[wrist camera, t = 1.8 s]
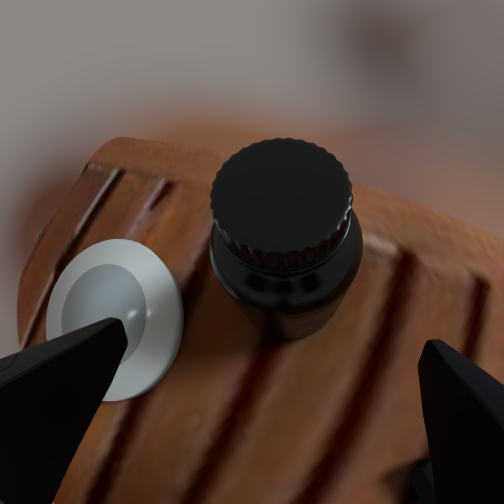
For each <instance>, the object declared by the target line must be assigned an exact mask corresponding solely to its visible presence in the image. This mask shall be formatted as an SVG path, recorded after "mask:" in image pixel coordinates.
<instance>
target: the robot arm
mask: <svg viewBox="0 0 504 504" xmlns="http://www.w3.org/2000/svg"><path fill="white" fill-rule="evenodd" d="M127 346H128V338H127V335H126V332H125V328H124V325H123V322H122V320H121V319H119V318H114V317H108V318H105V319H103V320H100V321H98V322H95V323H92V324H90V325H87V326H85V327H82V328H80V329H77V330H74V331H72V332H69V333H67V334H64V335H62V336H59V337H56V338H54V339H51V340H49V341H46V342H43V343H41V344H38V345H36V346H33V347H30V348H28V349H25V350H23V351H20V352H19V353H18V352H17V353H15V354H12V355H10V356H7V357H4V358H2V359H0V504H52V503H53V500H54V498H55V496H56V494H57V491H58V489H59V487H60V485H61V482H62V480H63V478H64V476H65V474H66V471H67V469H68V467H69V465H70V463H71V461H72V459H73V457H74V455H75V453H76V451H77V449H78V447H79V445H80V443H81V441H82V439H83V437H84V435H85V433H86V431H87V429H88V427H89V425H90V423H91V421H92V419H93V417H94V415H95V414H96V412H97V410H98V408H99V406H100V404H101V402H102V400H103V399H104V397H105V395H106V393H107V391H108V389H109V388H110V386H111V384H112V381H113V379H114V377H115V375H116V372H117V370H118V367H119V365H120V363H121V360H122V358H123V356H124V354H125V351H126V349H127ZM418 375H419V383H420V391H421V401H422V410H423V417H424V423H425V428H426V433H427V439H428V445H429V451H430V458H431V465H432V472H433V481H434V490H435V502H436V504H504V385H503V384H502V383H500V382H499V381H498V380H496V379H495V378H494V377H492V376H491V375H490V374H488V373H487V372H485V371H484V370H483V369H481V368H480V367H479V366H477V365H476V364H474V363H473V362H472V361H470V360H469V359H467V358H466V357H465V356H463V355H462V354H460V353H459V352H458V351H456V350H455V349H453V348H452V347H451V346H449V345H448V344H446V343H445V342H443V341H442V340H440V339H433V340H428V341H427V342H426V343H425V346H424V349H423V351H422V354H421V357H420V360H419V363H418Z"/></svg>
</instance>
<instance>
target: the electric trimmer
mask: <svg viewBox="0 0 504 504" xmlns="http://www.w3.org/2000/svg"><path fill="white" fill-rule="evenodd" d="M410 480H411V482H412V484H413V486H414V488H415V490H416V492H417V494H418V496H419V498H420V500H421V502H422V504H436V502H435V490H434V481H433V472H432V465H431V458H429V459H428V460H427V461H426V462H425V463H423V464H422V465H421V466H420V467H419V468H417V469H416V470H415V471H414V472H413V473H411V474H410Z"/></svg>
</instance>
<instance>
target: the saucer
mask: <svg viewBox="0 0 504 504" xmlns="http://www.w3.org/2000/svg"><path fill="white" fill-rule="evenodd" d="M108 317H114V318H119V319H121V320H122V322H123V325H124V328H125V332H126V335H127V338H128V346H127V349H126V351H125V354H124V356H123V358H122V360H121V363H120V365H119V367H118V370H117V372H116V375H115V377H114V379H113V381H112V384H111V386H110V388H109V389H108V391H107V393H106V395H105V397H104V399H103V400H102V401H124V400H130V399H133V398H136V397H138V396H140V395H142V394H144V393H146V392H148V391H149V390H150V389H152V388H153V387H154V386H155V385H156V384H157V383H158V382H159V381H160V380H161V379H162V378H163V377H164V376H165V374H166V373H167V372H168V370H169V369H170V367H171V365H172V363H173V362H174V360H175V358H176V355H177V352H178V350H179V347H180V343H181V339H182V334H183V327H184V309H183V301H182V296H181V292H180V289H179V287H178V284H177V282H176V280H175V278H174V276H173V274H172V273H171V271H170V270H169V268H168V267H167V266H166V265H165V264H164V263H163V262H162V261H161V260H160V259H159V258H158V257H157V256H156V255H155V254H154V253H153V252H152V251H151V250H149V249H148V248H147V247H145V246H143V245H141V244H139V243H137V242H134V241H131V240H125V239H112V240H106V241H103V242H100V243H97V244H95V245H93V246H91V247H89V248H87V249H86V250H84V251H83V252H81V253H80V254H79V255H78V256H76V257H75V258H74V259H73V260H72V261H71V262H70V264H69V265H68V266H67V267H66V268H65V270H64V271H63V273H62V274H61V276H60V277H59V279H58V281H57V283H56V285H55V287H54V289H53V292H52V294H51V297H50V301H49V305H48V309H47V316H46V339H47V341H49V340H51V339H54V338H56V337H59V336H62V335H64V334H67V333H69V332H72V331H74V330H77V329H80V328H82V327H85V326H87V325H90V324H92V323H95V322H98V321H100V320H103V319H105V318H108Z"/></svg>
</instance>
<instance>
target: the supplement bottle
mask: <svg viewBox="0 0 504 504" xmlns="http://www.w3.org/2000/svg"><path fill="white" fill-rule="evenodd" d="M348 178H349V177H348V173H347V172H346V171H345V170H344V169H343V165H342V163H341V162H339V161H337V160H336V158H335V156H334V155H332V154H331V153H328V152H327V151H326V150H325V149H324V148H322V147H318V146H317V145H315V144H314V143H309V142H305V141H304V140H295V139H292V138H285V139H281V138H275V139H272V140H263V141H261V142H258V143H253V144H251V145H250V146H248V147H245V148H242V149H241V150H240V151H239V152H238V153H236V154H233V155H232V156H231V157H230V159H229V160H228V161H226V162H225V163H223V166H222V168H221V169H220V170H219V171H218V172H217V175H216V179H215V180H214V181H213V183H212V187H213V189H212V191H211V193H210V198H211V200H212V201H211V204H210V208H211V211H212V213H213V220H214V223H213V226H212V230H211V234H210V244H209V249H210V258H211V263H212V266H213V269H214V272H215V274H216V276H217V278H218V280H219V281H220V283H221V285H222V286H223V288H224V289H225V290H226V292H227V293H228V294H229V296H230V297H231V298H232V299H233V301H234V302H235V303H236V304H237V306H238V307H239V308H240V309H241V310H242V312H243V313H244V314H245V315H246V317H247V318H248V319H249V320H250V321H251V322H252V323H253V324H254V325H255V326H256V327H257V328H258V329H260V330H261V331H263V332H264V333H266V334H268V335H271V336H273V337H277V338H281V339H298V338H302V337H306V336H308V335H311V334H313V333H315V332H317V331H318V330H320V329H321V328H322V327H323V326H325V325H326V324H327V323H328V321H329V320H330V319H331V318H332V316H333V315H334V313H335V312H336V310H337V308H338V307H339V305H340V303H341V301H342V300H343V298H344V296H345V294H346V293H347V291H348V289H349V287H350V286H351V284H352V282H353V280H354V278H355V276H356V274H357V271H358V268H359V265H360V262H361V258H362V251H363V238H362V231H361V227H360V224H359V221H358V218H357V216H356V214H355V212H354V210H353V209H352V207H351V206H352V203H353V194H352V192H351V191H352V184H351V182H350V181H349V179H348Z"/></svg>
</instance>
